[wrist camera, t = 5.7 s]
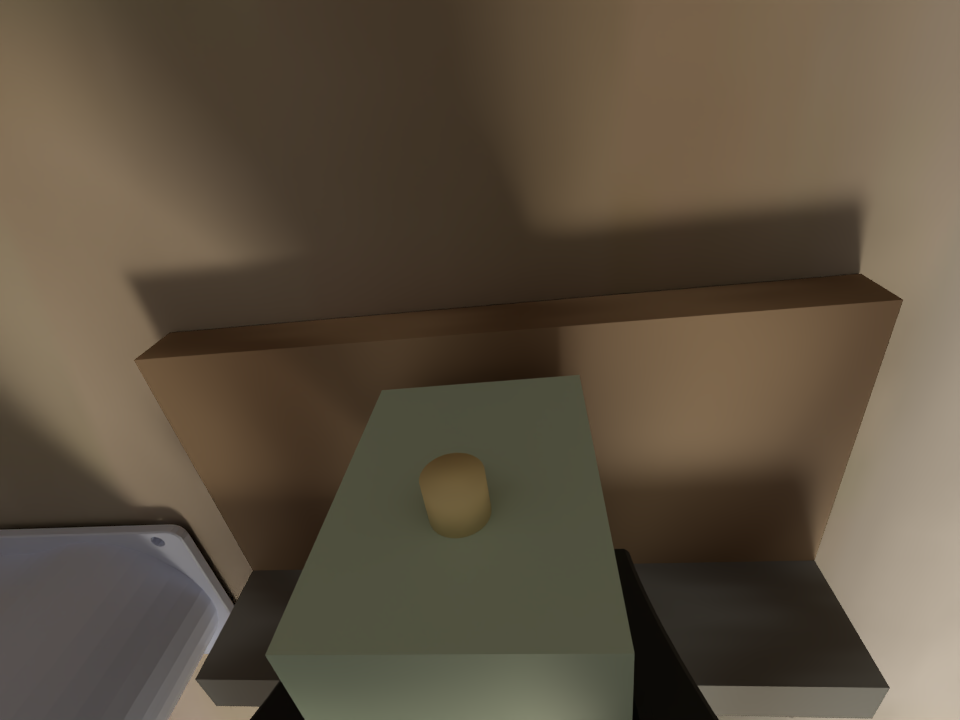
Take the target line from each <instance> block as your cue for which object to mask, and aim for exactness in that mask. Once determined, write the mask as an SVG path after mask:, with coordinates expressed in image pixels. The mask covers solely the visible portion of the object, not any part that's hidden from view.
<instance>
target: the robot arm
mask: <svg viewBox="0 0 960 720" xmlns="http://www.w3.org/2000/svg"><path fill="white" fill-rule="evenodd" d="M614 552H615V557H616V562H617V567H618V572H619V578H620V583H621V588H622V593H623V598H624V603H625V608H626V613H627V618H628V623H629V628H630V633H631V638H632V643H633V648H634V653H635V655H634V685H633V715H632V720H719V719H718V718H717V716H716V715H715V713H714V712H713V710H712V708H711V707H710V705H709V704H708V702H707V700H706V699H705V697H704V696H703V694H702V692H701V691H700V689H699V688H698V686H697V684H696V683H695V681H694V679H693V678H692V676H691V674H690V673H689V671H688V669H687V668H686V666H685V664H684V663H683V661H682V659H681V657H680V655H679V654H678V652H677V650H676V648H675V647H674V645H673V643H672V641H671V639H670V638H669V636H668V634H667V632H666V631H665V629H664V627H663V625H662V623H661V621H660V619H659V617H658V615H657V614H656V611H655V609H654V607H653V605H652V603H651V601H650V599H649V597H648V595H647V593H646V591H645V589H644V587H643V585H642V583H641V580H640V578H639V576H638V573H637V571H636V569H635V566H634V564H633V561H632V558H631V556H630V553H629V552H628V551H627V550H625V549H614ZM233 607H234V605H233V603H232V601H231V600H230V598H229V597H228V595H227V593H226V592H225V590H224V589H223V587H222V586H221V584H220V582H219V581H218V579H217V578H216V576H215V574H214V573H213V571H212V570H211V568H210V567H209V565H208V563H207V562H206V560H205V559H204V557H203V555H202V554H201V552H200V551H199V549H198V548H197V546H196V544H195V543H194V541H193V540H192V538H191V536H190V535H189V533H188V532H187V531H186V530H185V529H184V528H182V527H181V526H178V525H173V524H166V525H134V526H102V527H70V528H39V529H7V530H0V720H168V719H169V717H170V715H171V713H172V712H173V710H174V708H175V706H176V704H177V702H178V700H179V699H180V697H181V695H182V693H183V691H184V689H185V687H186V686H187V684H188V682H189V680H190V678H191V676H192V674H193V673H194V671H195V669H196V667H197V665H198V663H199V661H200V660H201V658H202V656H203V654H209V653H210V651H211V649H212V647H213V645H214V643H215V641H216V640H217V638H218V636H219V634H220V632H221V630H222V628H223V626H224V624H225V623H226V621H227V619H228V617H229V615H230V613H231V611H232V609H233ZM250 720H305V719H304V717H303V716H302V714H301V713H300V711H299V709H298V708H297V706H296V705H295V703H294V701H293V700H292V698H291V696H290V695H289V693H288V692H287V690H286V688H285V687H284V685H283V683H282V682H281V680H280V681H279V682H278V683H277V685H276V686H275V688H274V689H273V690H272V692H271V693H270V694H269V696H268V697H267V698H266V700H265V701H264V702H263V704H262V705H261V706H260V707H259V709H258V710H257V711H256V713H255V714H254V715H253V716H252V718H251V719H250Z"/></svg>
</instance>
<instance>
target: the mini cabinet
mask: <svg viewBox="0 0 960 720" xmlns="http://www.w3.org/2000/svg"><path fill="white" fill-rule="evenodd" d="M634 655H635V653H634V648H633V643H632V638H631V633H630V628H629V623H628V618H627V613H626V608H625V603H624V598H623V593H622V588H621V583H620V578H619V572H618V567H617V562H616V557H615V552H614V547H613V542H612V537H611V532H610V527H609V522H608V517H607V512H606V507H605V502H604V497H603V492H602V487H601V482H600V476H599V471H598V466H597V461H596V456H595V451H594V446H593V441H592V436H591V431H590V426H589V421H588V416H587V411H586V406H585V401H584V396H583V391H582V386H581V380H580V375H573V376H560V377H547V378H534V379H521V380H508V381H495V382H482V383H469V384H456V385H443V386H430V387H417V388H404V389H391V390H382V391H381V393H380V396H379V398H378V400H377V402H376V405H375V407H374V409H373V412H372V414H371V416H370V418H369V421H368V423H367V425H366V427H365V430H364V432H363V434H362V436H361V439H360V441H359V443H358V446H357V448H356V450H355V452H354V455H353V457H352V459H351V461H350V464H349V466H348V468H347V471H346V473H345V475H344V477H343V480H342V482H341V484H340V486H339V489H338V491H337V493H336V495H335V498H334V500H333V502H332V505H331V507H330V509H329V511H328V514H327V516H326V518H325V520H324V523H323V525H322V527H321V529H320V532H319V534H318V536H317V539H316V541H315V543H314V545H313V548H312V550H311V552H310V554H309V557H308V559H307V561H306V564H305V566H304V568H303V570H302V573H301V575H300V577H299V579H298V582H297V584H296V586H295V588H294V591H293V593H292V595H291V598H290V600H289V602H288V604H287V607H286V609H285V611H284V613H283V616H282V618H281V620H280V622H279V625H278V627H277V629H276V632H275V634H274V636H273V638H272V641H271V643H270V645H269V647H268V650H267V652H266V654H265V656H266V658H267V659H268V661H269V662H270V664H271V666H272V667H273V669H274V671H275V672H276V674H277V675H278V677H279V679H280V680H281V682H282V683H283V685H284V687H285V688H286V690H287V692H288V693H289V695H290V696H291V698H292V700H293V701H294V703H295V705H296V706H297V708H298V709H299V711H300V713H301V714H302V716H303V717H304V719H305V720H632V715H633V685H634Z"/></svg>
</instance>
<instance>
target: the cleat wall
mask: <svg viewBox="0 0 960 720" xmlns="http://www.w3.org/2000/svg"><path fill="white" fill-rule="evenodd" d="M902 302H903V299H901V298H899V297H898V296H896V295H895V294H893V293H891V292H890V291H888V290H886V289H885V288H883V287H882V286H880V285H878V284H877V283H875V282H873V281H872V280H870V279H869V278H867V277H865V276H864V275H862V274H853V275H841V276H829V277H818V278H806V279H794V280H782V281H771V282H759V283H747V284H736V285H724V286H712V287H700V288H689V289H677V290H665V291H654V292H642V293H630V294H618V295H607V296H595V297H583V298H572V299H560V300H548V301H537V302H525V303H513V304H501V305H490V306H478V307H466V308H455V309H443V310H431V311H419V312H408V313H396V314H384V315H373V316H361V317H349V318H337V319H326V320H314V321H302V322H291V323H279V324H267V325H255V326H244V327H232V328H220V329H209V330H197V331H185V332H174V333H169V334H168V335H166V336H165V337H164V338H162V339H161V340H160V341H158V342H157V343H156V344H155V345H153V346H152V347H151V348H149V349H148V350H147V351H145V352H144V353H143V354H141V355H140V356H139V357H138V358H136V359H135V360H134V361H135V363H136V364H137V366H138V368H139V370H140V372H141V373H142V375H143V377H144V379H145V380H146V382H147V384H148V386H149V387H150V389H151V391H152V393H153V395H154V396H155V398H156V400H157V402H158V403H159V405H160V407H161V409H162V410H163V412H164V414H165V416H166V418H167V419H168V421H169V423H170V425H171V426H172V428H173V430H174V432H175V433H176V435H177V437H178V439H179V441H180V442H181V444H182V446H183V448H184V449H185V451H186V453H187V455H188V456H189V458H190V460H191V462H192V463H193V465H194V467H195V469H196V471H197V472H198V474H199V476H200V478H201V479H202V481H203V483H204V485H205V486H206V488H207V490H208V492H209V494H210V495H211V497H212V499H213V501H214V502H215V504H216V506H217V508H218V509H219V511H220V513H221V515H222V517H223V518H224V520H225V522H226V524H227V525H228V527H229V529H230V531H231V532H232V534H233V536H234V538H235V540H236V541H237V543H238V545H239V547H240V548H241V550H242V552H243V554H244V555H245V557H246V559H247V561H248V563H249V564H250V566H251V568H252V570H253V572H252V573H251V575H250V577H249V579H248V581H247V583H246V585H245V587H244V589H243V590H242V592H241V594H240V596H239V598H238V600H237V602H236V604H235V606H234V607H233V609H232V611H231V613H230V615H229V617H228V619H227V621H226V623H225V624H224V626H223V628H222V630H221V632H220V634H219V636H218V638H217V640H216V641H215V643H214V645H213V647H212V649H211V651H210V653H209V655H208V657H207V658H206V660H205V662H204V664H203V666H202V668H201V670H200V672H199V674H198V676H197V677H196V679H195V680H196V681H197V682H198V683H199V685H200V686H201V687H202V688H203V690H204V691H205V692H206V693H207V695H208V696H209V697H210V698H211V700H212V701H213V702H214V703H215V705H216V706H257V707H260V706H261V705H262V704H263V702H264V701H265V700H266V698H267V697H268V696H269V694H270V693H271V692H272V690H273V689H274V688H275V686H276V685H277V683H278V682H279V681H280V679H279V677H278V675H277V674H276V672H275V671H274V669H273V667H272V666H271V664H270V662H269V661H268V659H267V658H266V656H265V654H266V652H267V650H268V647H269V645H270V643H271V641H272V638H273V636H274V634H275V632H276V629H277V627H278V625H279V622H280V620H281V618H282V616H283V613H284V611H285V609H286V607H287V604H288V602H289V600H290V598H291V595H292V593H293V591H294V588H295V586H296V584H297V582H298V579H299V577H300V575H301V573H302V570H303V568H304V566H305V564H306V561H307V559H308V557H309V554H310V552H311V550H312V548H313V545H314V543H315V541H316V539H317V536H318V534H319V532H320V529H321V527H322V525H323V523H324V520H325V518H326V516H327V514H328V511H329V509H330V507H331V505H332V502H333V500H334V498H335V495H336V493H337V491H338V489H339V486H340V484H341V482H342V480H343V477H344V475H345V473H346V471H347V468H348V466H349V464H350V461H351V459H352V457H353V455H354V452H355V450H356V448H357V446H358V443H359V441H360V439H361V436H362V434H363V432H364V430H365V427H366V425H367V423H368V421H369V418H370V416H371V414H372V412H373V409H374V407H375V405H376V402H377V400H378V398H379V396H380V393H381V391H382V390H391V389H404V388H417V387H430V386H443V385H456V384H469V383H482V382H495V381H508V380H521V379H534V378H547V377H560V376H573V375H580V380H581V386H582V391H583V396H584V401H585V406H586V411H587V416H588V421H589V426H590V431H591V436H592V441H593V446H594V451H595V456H596V461H597V466H598V471H599V476H600V482H601V487H602V492H603V497H604V502H605V507H606V512H607V517H608V522H609V527H610V532H611V537H612V542H613V547H614V549H625V550H627V551H628V552H629V553H630V556H631V558H632V561H633V564H634V566H635V569H636V571H637V573H638V576H639V578H640V580H641V583H642V585H643V587H644V589H645V591H646V593H647V595H648V597H649V599H650V601H651V603H652V605H653V607H654V609H655V611H656V614H657V615H658V617H659V619H660V621H661V623H662V625H663V627H664V629H665V631H666V632H667V634H668V636H669V638H670V639H671V641H672V643H673V645H674V647H675V648H676V650H677V652H678V654H679V655H680V657H681V659H682V661H683V663H684V664H685V666H686V668H687V669H688V671H689V673H690V674H691V676H692V678H693V679H694V681H695V683H696V684H697V686H698V688H699V689H700V691H701V692H702V694H703V696H704V697H705V699H706V700H707V702H708V704H709V705H710V707H711V708H712V710H713V712H714V713H715V715H719V716H771V717H822V718H873V716H874V714H875V713H876V711H877V709H878V707H879V706H880V704H881V702H882V700H883V699H884V697H885V695H886V694H887V692H888V690H889V686H888V684H887V683H886V681H885V679H884V677H883V676H882V674H881V672H880V671H879V669H878V667H877V666H876V664H875V662H874V661H873V659H872V657H871V655H870V654H869V652H868V650H867V649H866V647H865V645H864V644H863V642H862V640H861V639H860V637H859V635H858V633H857V632H856V630H855V628H854V627H853V625H852V623H851V622H850V620H849V618H848V617H847V615H846V613H845V611H844V610H843V608H842V606H841V605H840V603H839V601H838V600H837V598H836V596H835V595H834V593H833V591H832V589H831V588H830V586H829V584H828V583H827V581H826V579H825V578H824V576H823V574H822V573H821V571H820V569H819V568H818V566H817V564H816V562H815V561H814V560H815V557H816V554H817V551H818V548H819V545H820V542H821V539H822V536H823V534H824V531H825V528H826V525H827V522H828V519H829V516H830V513H831V510H832V507H833V504H834V501H835V498H836V495H837V492H838V490H839V487H840V484H841V481H842V478H843V475H844V472H845V469H846V466H847V463H848V460H849V457H850V454H851V451H852V448H853V446H854V443H855V440H856V437H857V434H858V431H859V428H860V425H861V422H862V419H863V416H864V413H865V410H866V407H867V404H868V402H869V399H870V396H871V393H872V390H873V387H874V384H875V381H876V378H877V375H878V372H879V369H880V366H881V363H882V360H883V358H884V355H885V352H886V349H887V346H888V343H889V340H890V337H891V334H892V331H893V328H894V325H895V322H896V319H897V316H898V313H899V311H900V308H901V305H902Z"/></svg>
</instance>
